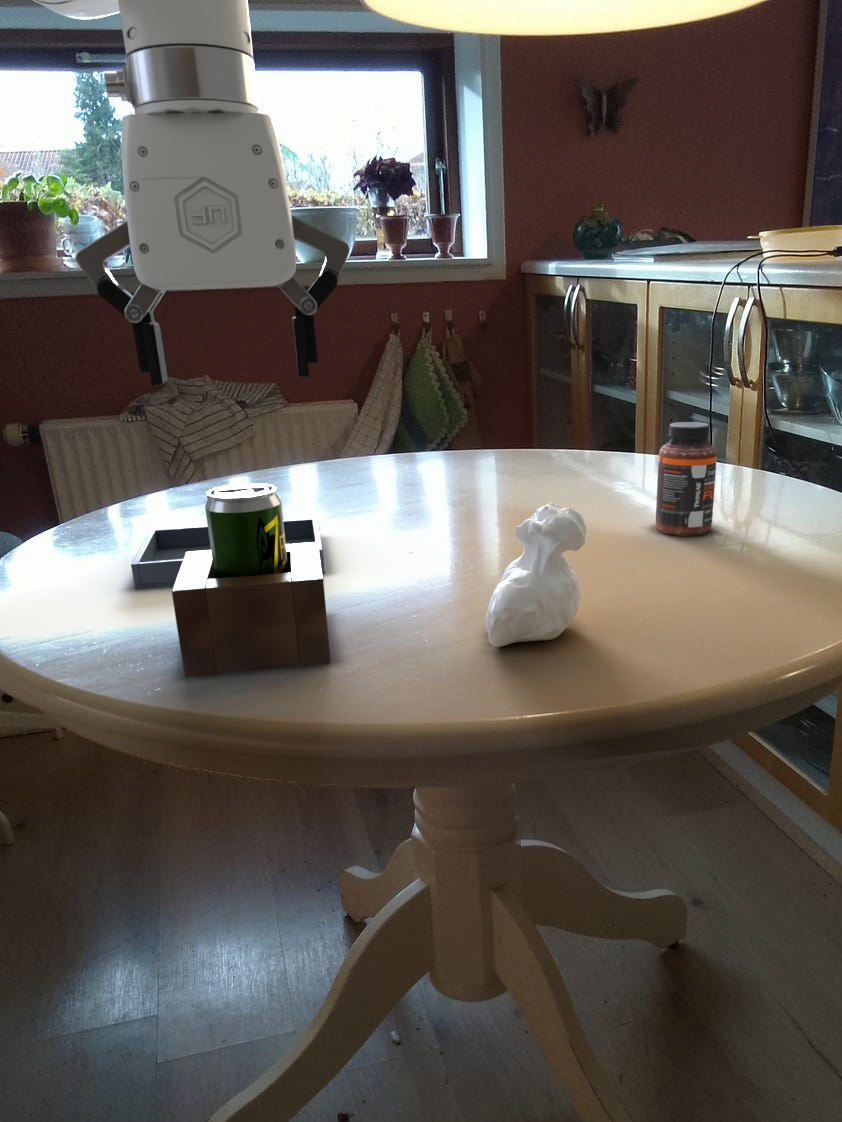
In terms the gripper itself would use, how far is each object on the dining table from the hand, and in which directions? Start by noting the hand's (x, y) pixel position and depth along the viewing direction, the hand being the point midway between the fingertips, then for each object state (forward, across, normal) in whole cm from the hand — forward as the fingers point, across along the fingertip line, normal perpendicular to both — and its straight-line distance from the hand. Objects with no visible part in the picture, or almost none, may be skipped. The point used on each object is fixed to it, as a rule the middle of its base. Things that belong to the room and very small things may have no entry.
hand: (233, 380), depth 63 cm
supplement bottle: (+20, +43, +23) cm, 53 cm away
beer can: (+20, 0, 0) cm, 20 cm away
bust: (+20, +20, -3) cm, 29 cm away
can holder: (+20, 0, 0) cm, 20 cm away
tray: (+20, -4, +24) cm, 31 cm away
